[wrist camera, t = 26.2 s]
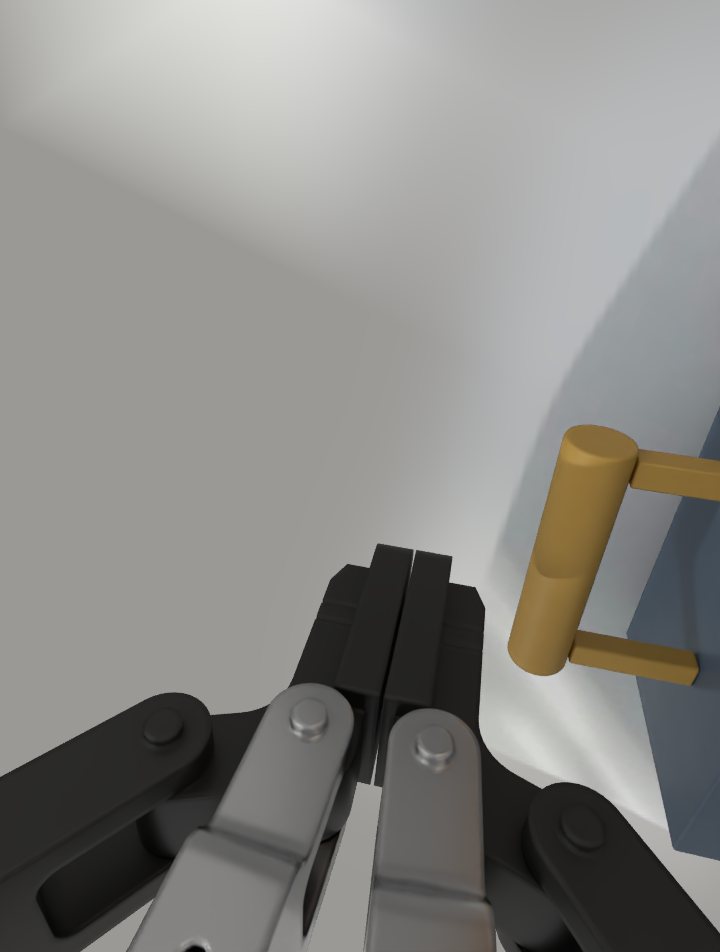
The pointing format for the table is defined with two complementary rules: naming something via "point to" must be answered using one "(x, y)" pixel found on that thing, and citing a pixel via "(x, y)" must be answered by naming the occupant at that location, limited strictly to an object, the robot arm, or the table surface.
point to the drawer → (639, 609)
